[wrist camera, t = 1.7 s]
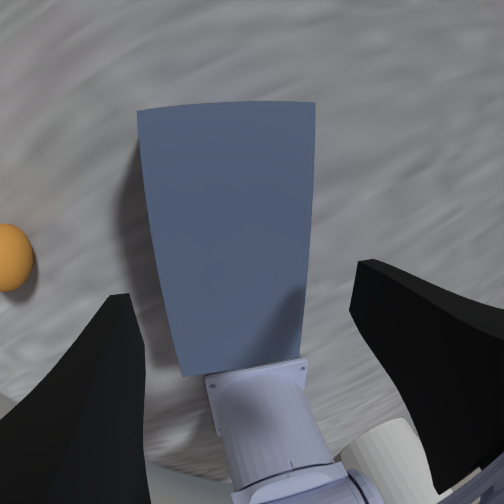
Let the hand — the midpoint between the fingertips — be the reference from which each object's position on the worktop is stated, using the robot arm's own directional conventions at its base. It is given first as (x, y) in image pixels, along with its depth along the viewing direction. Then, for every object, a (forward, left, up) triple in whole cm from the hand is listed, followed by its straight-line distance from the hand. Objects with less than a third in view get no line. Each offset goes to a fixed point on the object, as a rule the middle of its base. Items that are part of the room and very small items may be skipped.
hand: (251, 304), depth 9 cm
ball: (0, +12, -6) cm, 14 cm away
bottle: (-37, -20, -8) cm, 43 cm away
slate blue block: (0, 0, -8) cm, 8 cm away
